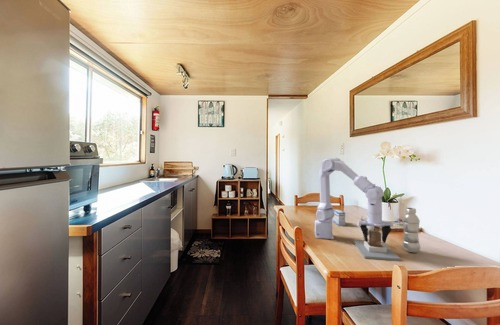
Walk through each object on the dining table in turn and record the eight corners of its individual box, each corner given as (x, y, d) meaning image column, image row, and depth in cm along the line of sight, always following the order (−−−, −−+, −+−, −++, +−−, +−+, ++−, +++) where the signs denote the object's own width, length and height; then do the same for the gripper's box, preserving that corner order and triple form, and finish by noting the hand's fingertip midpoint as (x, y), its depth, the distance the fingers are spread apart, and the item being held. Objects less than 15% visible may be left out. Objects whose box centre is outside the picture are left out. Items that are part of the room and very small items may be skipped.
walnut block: (371, 250, 101) (371, 233, 101) (368, 246, 105) (368, 230, 105) (381, 250, 100) (381, 233, 100) (378, 247, 104) (378, 230, 104)
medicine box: (333, 222, 148) (333, 209, 148) (339, 222, 149) (339, 209, 148) (338, 226, 140) (338, 212, 140) (345, 225, 141) (345, 212, 141)
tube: (375, 230, 121) (377, 218, 142) (364, 225, 123) (368, 214, 144) (371, 238, 122) (374, 225, 143) (361, 233, 124) (365, 222, 146)
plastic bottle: (421, 255, 97) (421, 210, 97) (402, 252, 101) (402, 209, 100) (419, 250, 103) (419, 207, 102) (401, 247, 106) (401, 206, 106)
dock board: (364, 258, 95) (364, 251, 95) (353, 242, 113) (353, 236, 113) (400, 260, 93) (400, 253, 93) (383, 244, 110) (383, 238, 110)
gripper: (360, 214, 100) (360, 243, 100) (395, 215, 97) (395, 245, 97) (356, 210, 107) (356, 238, 107) (389, 211, 104) (389, 239, 104)
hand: (374, 241), depth 103 cm, fingers open, 7 cm apart
